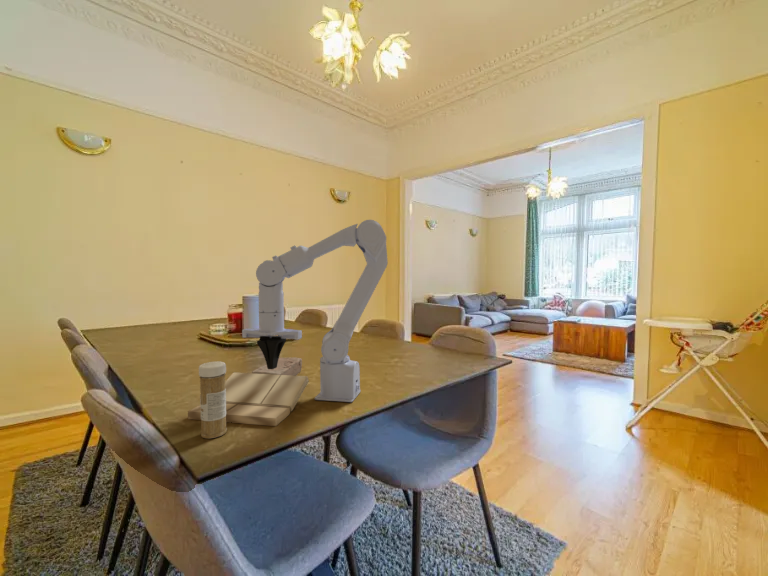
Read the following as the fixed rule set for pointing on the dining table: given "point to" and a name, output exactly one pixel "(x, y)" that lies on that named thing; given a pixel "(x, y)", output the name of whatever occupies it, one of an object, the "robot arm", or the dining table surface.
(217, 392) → the sprinkles bottle
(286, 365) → the brick
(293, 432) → the dining table surface
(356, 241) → the robot arm
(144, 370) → the dining table surface
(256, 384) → the plank
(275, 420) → the floor row
